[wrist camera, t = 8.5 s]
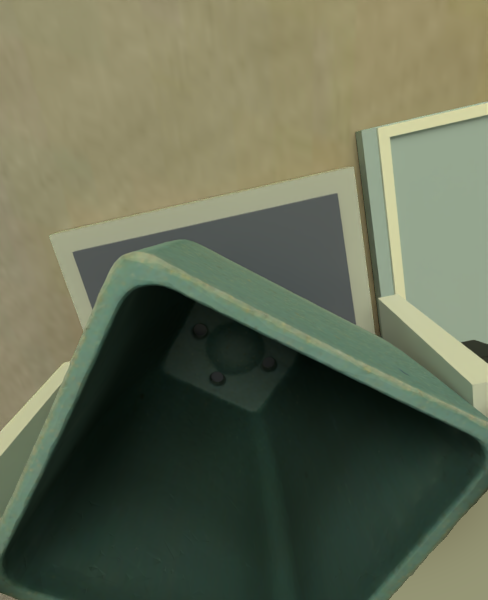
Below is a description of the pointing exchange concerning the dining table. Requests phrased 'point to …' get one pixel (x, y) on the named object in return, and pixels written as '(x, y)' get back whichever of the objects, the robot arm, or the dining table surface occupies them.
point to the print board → (431, 215)
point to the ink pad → (244, 243)
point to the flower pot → (235, 449)
